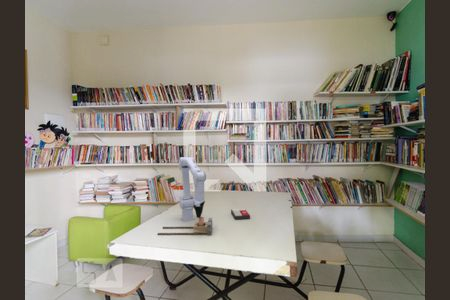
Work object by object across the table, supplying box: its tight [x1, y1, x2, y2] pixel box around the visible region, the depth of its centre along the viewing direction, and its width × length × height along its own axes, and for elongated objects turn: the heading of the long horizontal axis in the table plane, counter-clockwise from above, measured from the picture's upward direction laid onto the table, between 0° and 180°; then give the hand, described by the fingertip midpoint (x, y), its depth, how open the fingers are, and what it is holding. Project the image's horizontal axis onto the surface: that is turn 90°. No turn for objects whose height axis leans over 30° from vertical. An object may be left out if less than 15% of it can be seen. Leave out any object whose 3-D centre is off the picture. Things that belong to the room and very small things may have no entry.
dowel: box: [198, 216, 205, 226], centre depth 121 cm, size 3×3×8 cm
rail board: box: [157, 217, 213, 237], centre depth 121 cm, size 12×30×7 cm, turn 90°
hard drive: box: [230, 208, 251, 221], centre depth 152 cm, size 11×4×15 cm
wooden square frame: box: [192, 221, 208, 233], centre depth 121 cm, size 8×8×4 cm
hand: (199, 215), depth 122 cm, fingers open, 7 cm apart
